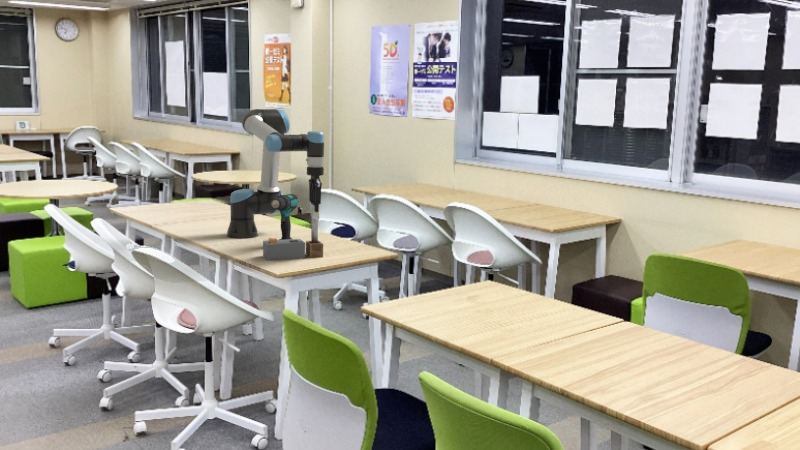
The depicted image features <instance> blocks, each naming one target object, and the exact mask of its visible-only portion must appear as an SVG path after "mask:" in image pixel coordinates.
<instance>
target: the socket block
mask: <svg viewBox="0 0 800 450" xmlns="http://www.w3.org/2000/svg"><path fill="white" fill-rule="evenodd" d="M262 257H263V258H264V259H265V260H266V261H279V260H280V261H281V260H294V259H295V260H296V259H305V258H306V241H304V240H302V239H301V238H292V239H286V240H279V239H277V243H269V239H268V240H265V239H264V240H262Z"/></svg>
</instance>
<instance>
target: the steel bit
mask: <svg viewBox="0 0 800 450" xmlns="http://www.w3.org/2000/svg"><path fill="white" fill-rule="evenodd" d="M310 219H311V220H310V222H311V225H310V227H311V228H310V232H311V233H310V234H311V236H310V238H311V239H310V241H311V244H313V243H318V240H319V219H313V209H311V208H310Z"/></svg>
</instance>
